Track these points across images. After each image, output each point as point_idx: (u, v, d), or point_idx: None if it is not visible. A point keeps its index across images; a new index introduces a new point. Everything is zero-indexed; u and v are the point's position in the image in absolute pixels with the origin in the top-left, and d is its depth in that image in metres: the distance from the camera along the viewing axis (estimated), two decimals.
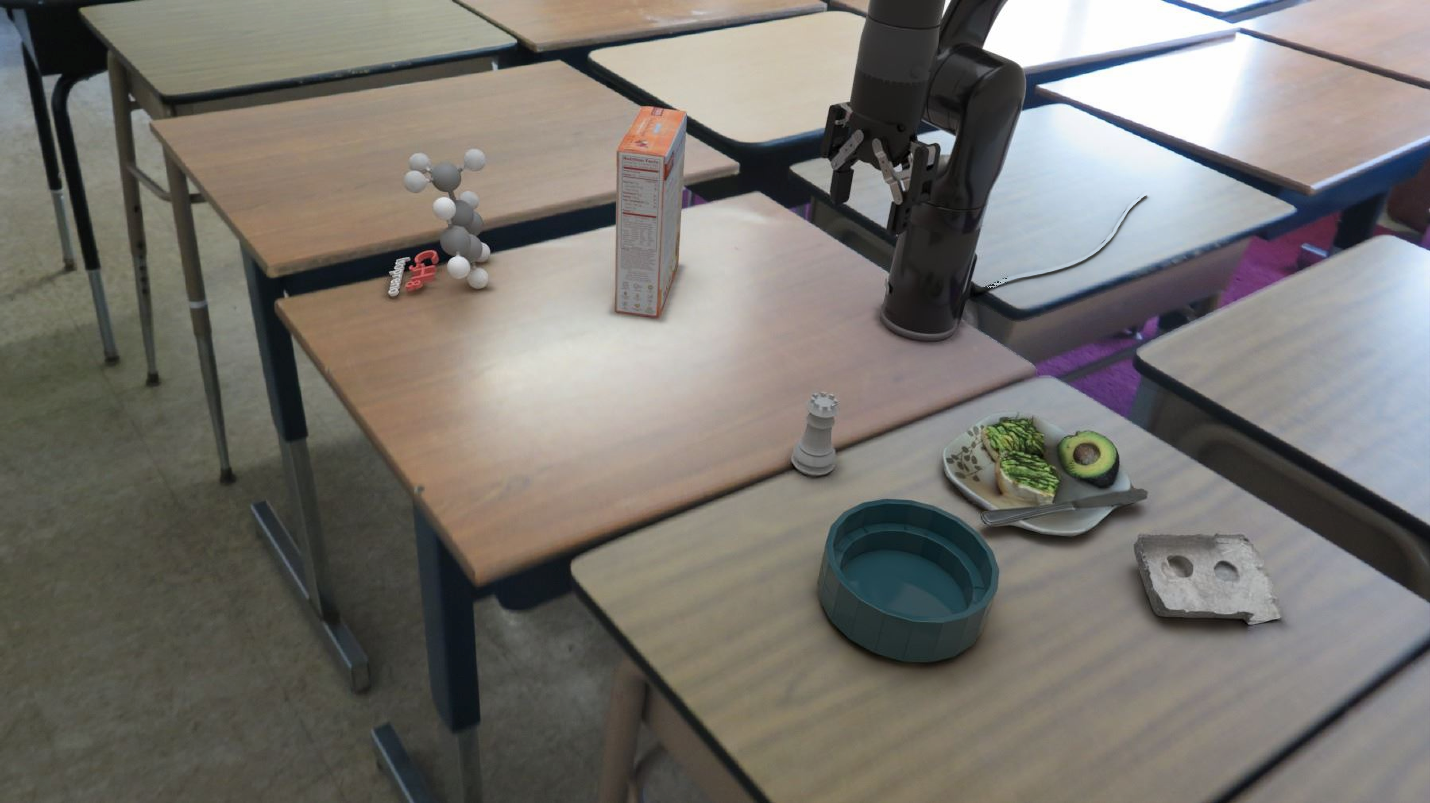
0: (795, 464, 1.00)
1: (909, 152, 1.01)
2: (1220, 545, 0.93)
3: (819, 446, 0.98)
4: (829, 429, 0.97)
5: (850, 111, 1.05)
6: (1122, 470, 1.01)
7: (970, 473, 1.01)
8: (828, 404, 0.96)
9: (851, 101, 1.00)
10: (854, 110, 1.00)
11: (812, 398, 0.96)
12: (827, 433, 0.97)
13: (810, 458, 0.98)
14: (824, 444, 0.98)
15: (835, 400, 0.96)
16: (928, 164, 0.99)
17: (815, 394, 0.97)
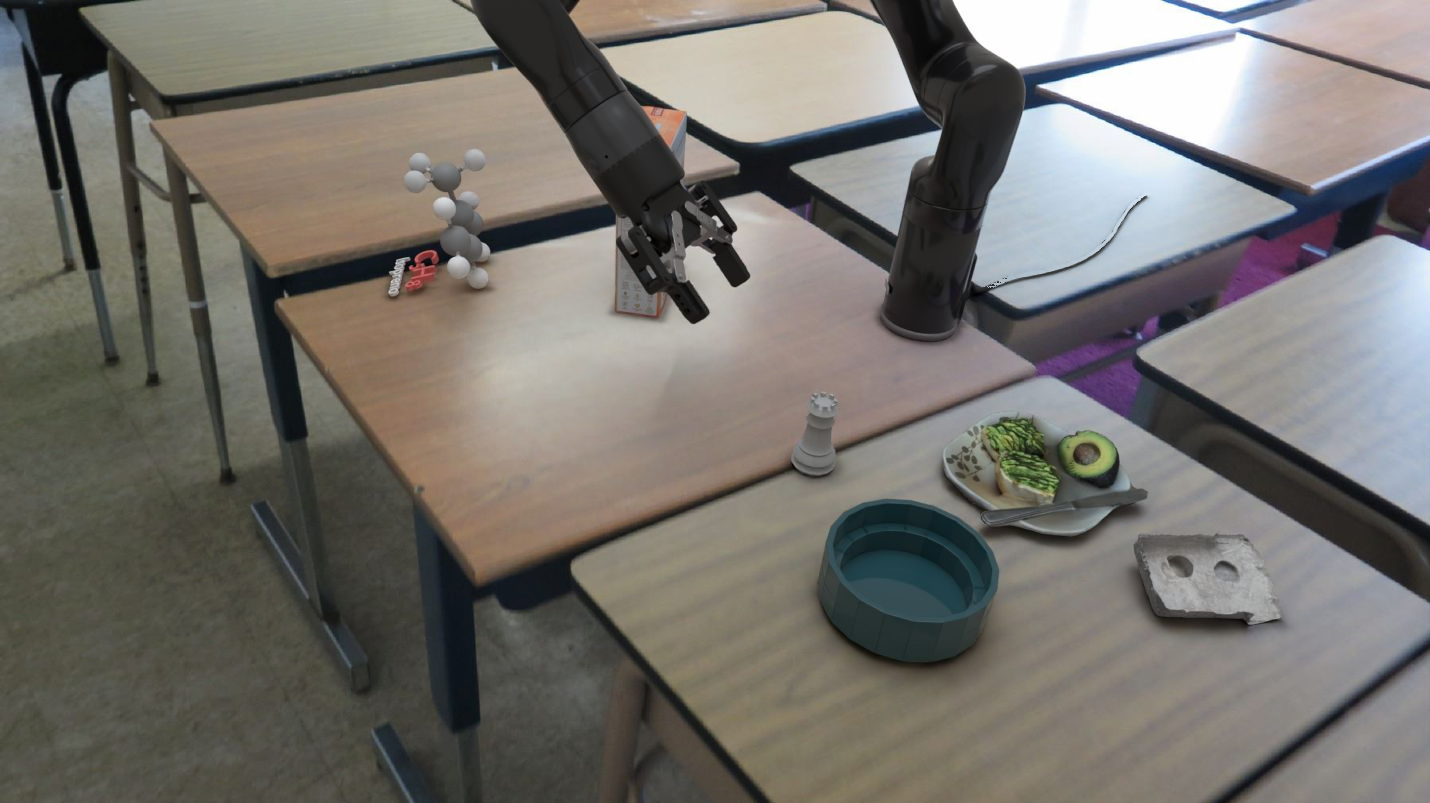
0: (795, 464, 1.00)
1: None
2: (1220, 545, 0.93)
3: (819, 446, 0.98)
4: (829, 429, 0.97)
5: None
6: (1122, 470, 1.01)
7: (970, 473, 1.01)
8: (828, 404, 0.96)
9: None
10: None
11: (812, 398, 0.96)
12: (827, 433, 0.97)
13: (810, 459, 0.98)
14: (824, 444, 0.98)
15: (835, 400, 0.96)
16: (631, 252, 0.89)
17: (815, 394, 0.97)
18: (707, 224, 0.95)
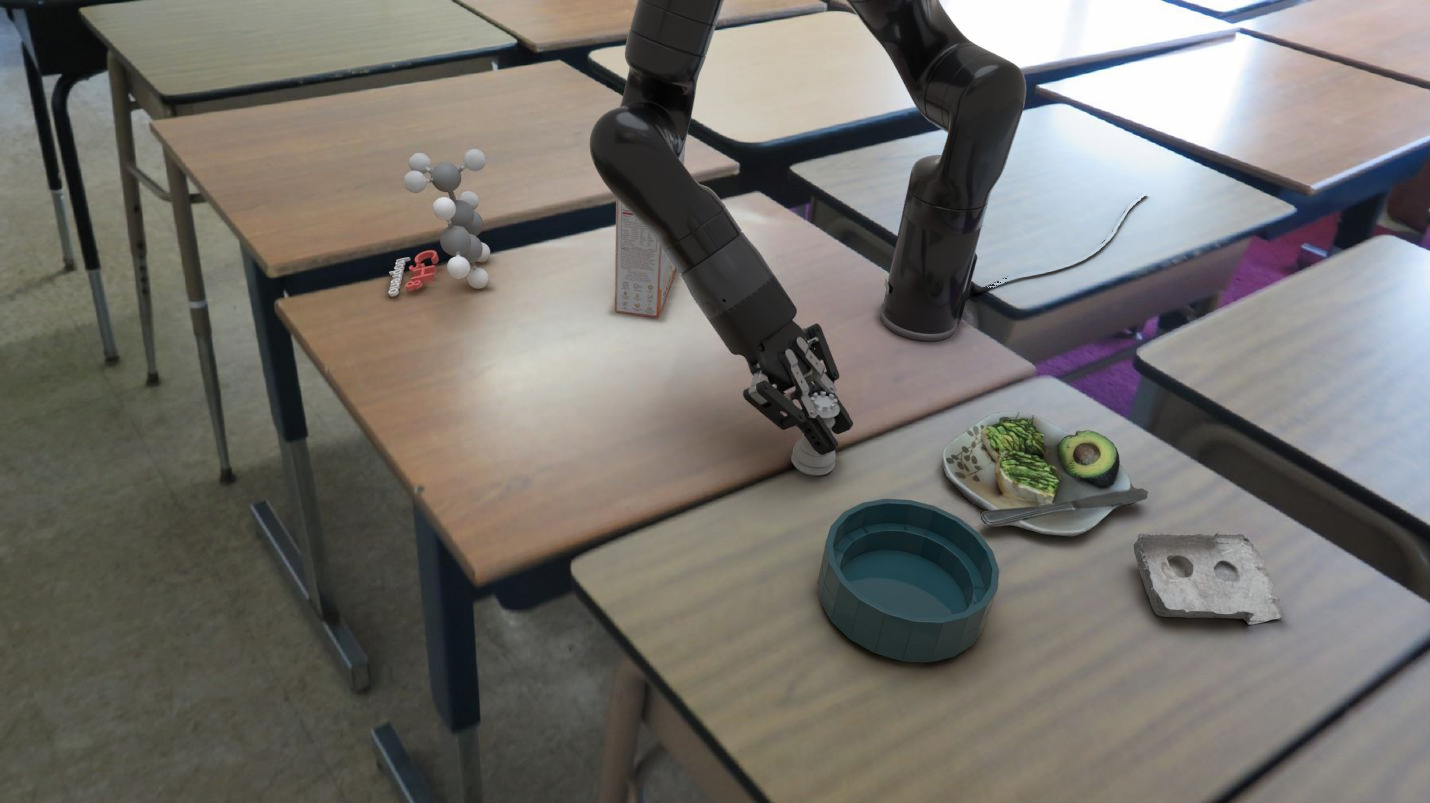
0: (795, 464, 1.00)
1: (770, 375, 0.93)
2: (1220, 545, 0.93)
3: None
4: (829, 429, 0.97)
5: None
6: (1122, 470, 1.01)
7: (970, 473, 1.01)
8: (828, 404, 0.96)
9: None
10: None
11: (812, 398, 0.96)
12: None
13: (810, 459, 0.98)
14: None
15: (835, 400, 0.96)
16: (762, 403, 0.92)
17: (815, 394, 0.97)
18: (814, 365, 0.96)
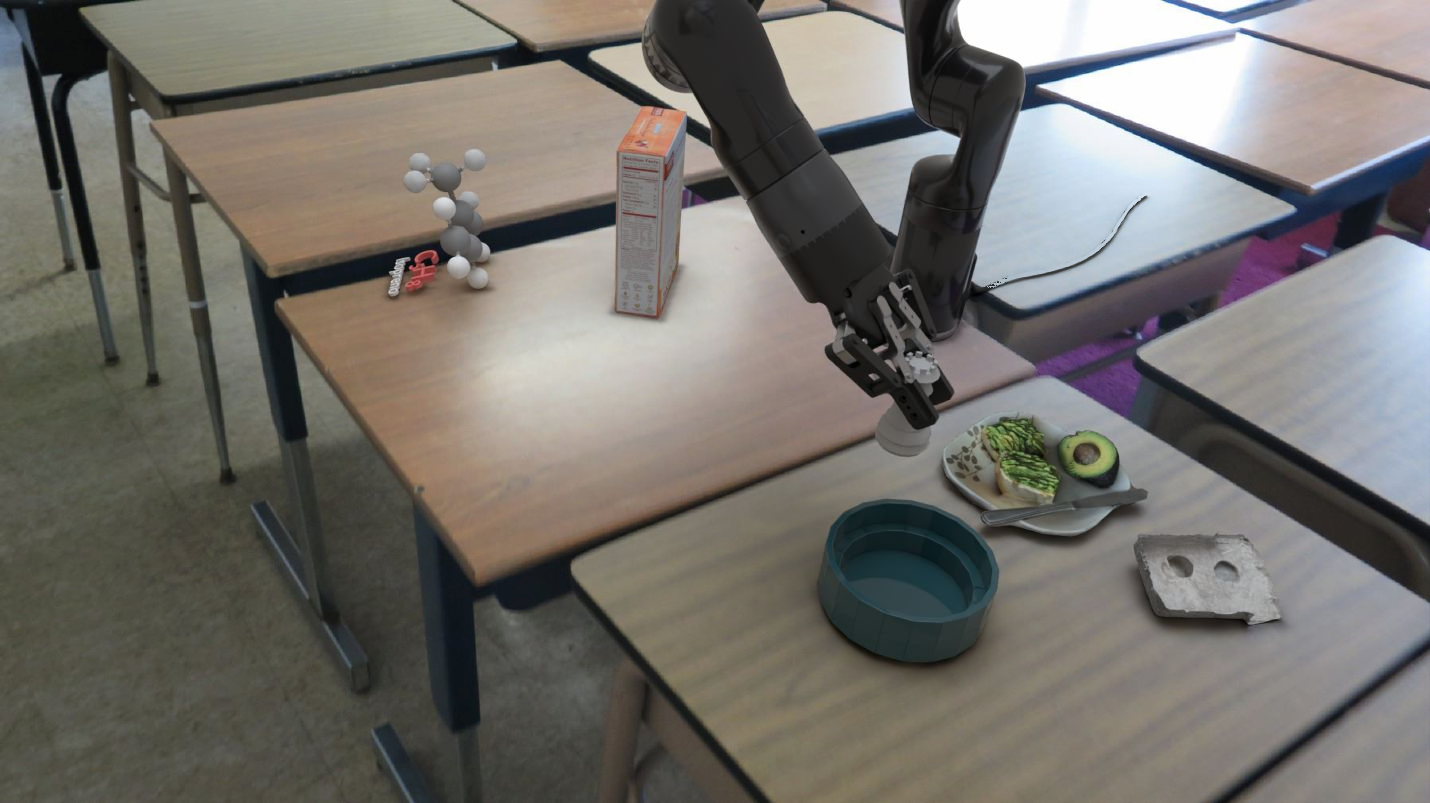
0: (881, 442, 0.81)
1: None
2: (1220, 545, 0.93)
3: None
4: None
5: None
6: (1122, 470, 1.01)
7: (970, 473, 1.01)
8: (926, 367, 0.77)
9: None
10: None
11: (906, 359, 0.77)
12: None
13: (901, 435, 0.79)
14: None
15: (935, 362, 0.77)
16: (848, 363, 0.73)
17: (909, 354, 0.78)
18: (909, 318, 0.77)
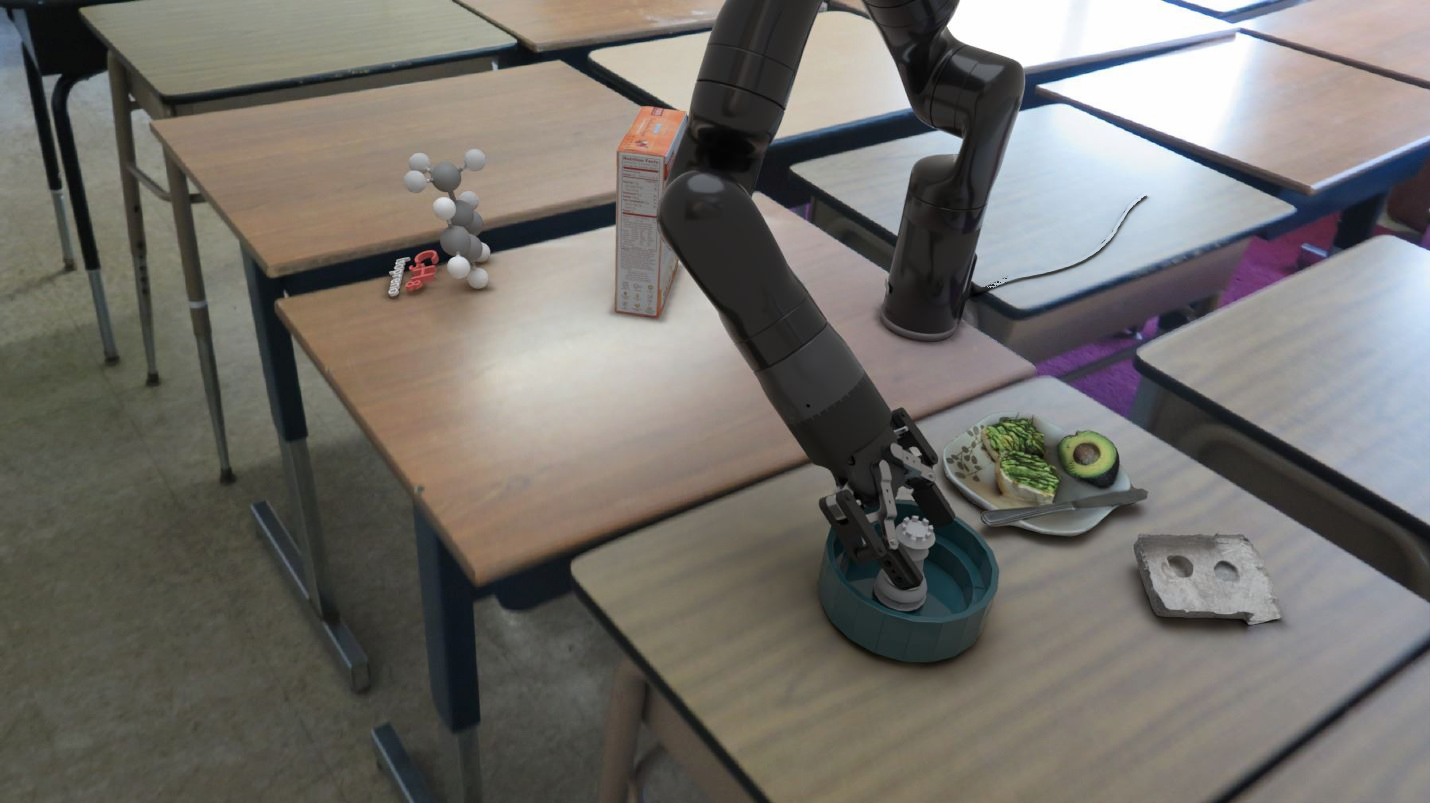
0: (879, 597, 0.85)
1: None
2: (1220, 545, 0.93)
3: None
4: (922, 560, 0.83)
5: None
6: (1122, 470, 1.01)
7: (970, 473, 1.01)
8: (922, 532, 0.81)
9: None
10: None
11: (903, 525, 0.81)
12: (919, 564, 0.83)
13: (899, 593, 0.83)
14: None
15: (930, 527, 0.81)
16: (838, 518, 0.76)
17: (906, 519, 0.82)
18: (912, 466, 0.82)
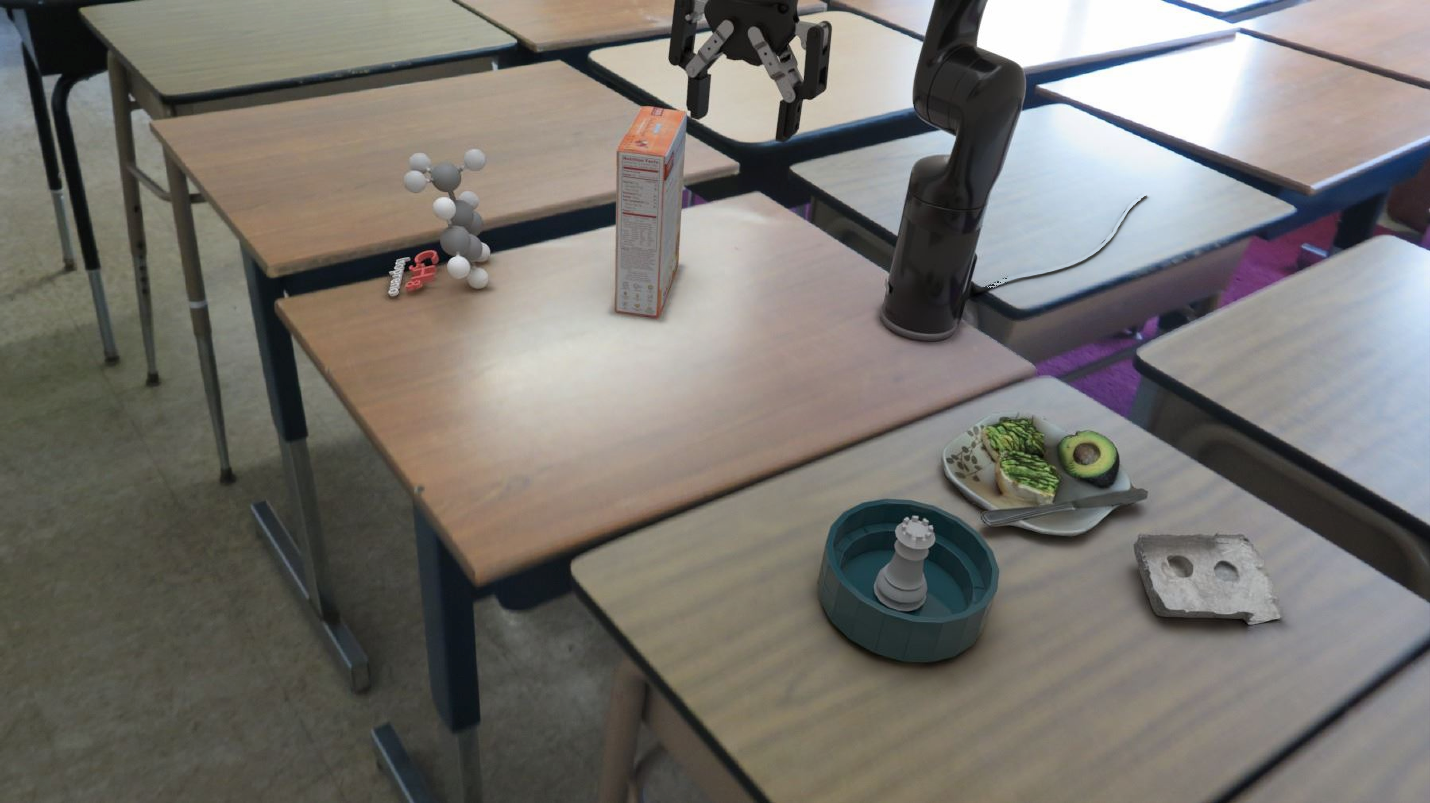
0: (879, 597, 0.85)
1: (791, 38, 0.85)
2: (1220, 545, 0.93)
3: (909, 579, 0.83)
4: (922, 560, 0.83)
5: (703, 1, 0.86)
6: (1122, 470, 1.01)
7: (970, 473, 1.01)
8: (922, 532, 0.81)
9: None
10: None
11: (903, 525, 0.81)
12: (919, 564, 0.83)
13: (899, 593, 0.83)
14: (916, 576, 0.83)
15: (930, 527, 0.81)
16: (823, 47, 0.83)
17: (906, 519, 0.82)
18: None
